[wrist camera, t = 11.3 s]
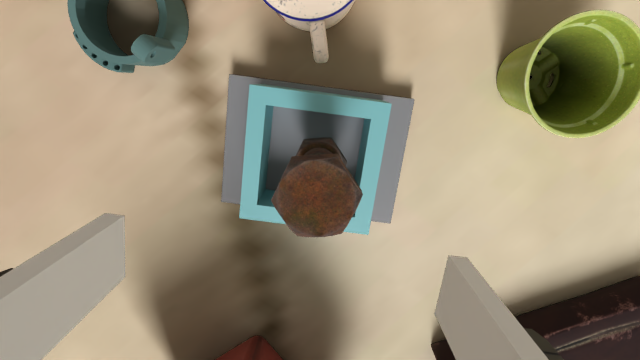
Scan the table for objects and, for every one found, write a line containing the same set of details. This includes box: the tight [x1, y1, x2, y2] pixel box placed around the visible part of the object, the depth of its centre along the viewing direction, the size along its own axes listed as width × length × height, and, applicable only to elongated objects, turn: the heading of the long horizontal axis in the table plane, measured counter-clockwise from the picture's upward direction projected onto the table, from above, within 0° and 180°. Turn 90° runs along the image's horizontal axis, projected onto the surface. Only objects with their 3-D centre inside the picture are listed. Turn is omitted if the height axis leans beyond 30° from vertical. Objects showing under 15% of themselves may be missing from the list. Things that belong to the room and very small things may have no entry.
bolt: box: [271, 137, 363, 237], centre depth 30 cm, size 6×5×15 cm
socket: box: [221, 74, 414, 235], centre depth 36 cm, size 18×13×6 cm
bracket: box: [68, 0, 189, 73], centre depth 32 cm, size 9×9×9 cm
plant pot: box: [497, 10, 640, 138], centre depth 32 cm, size 9×9×9 cm
